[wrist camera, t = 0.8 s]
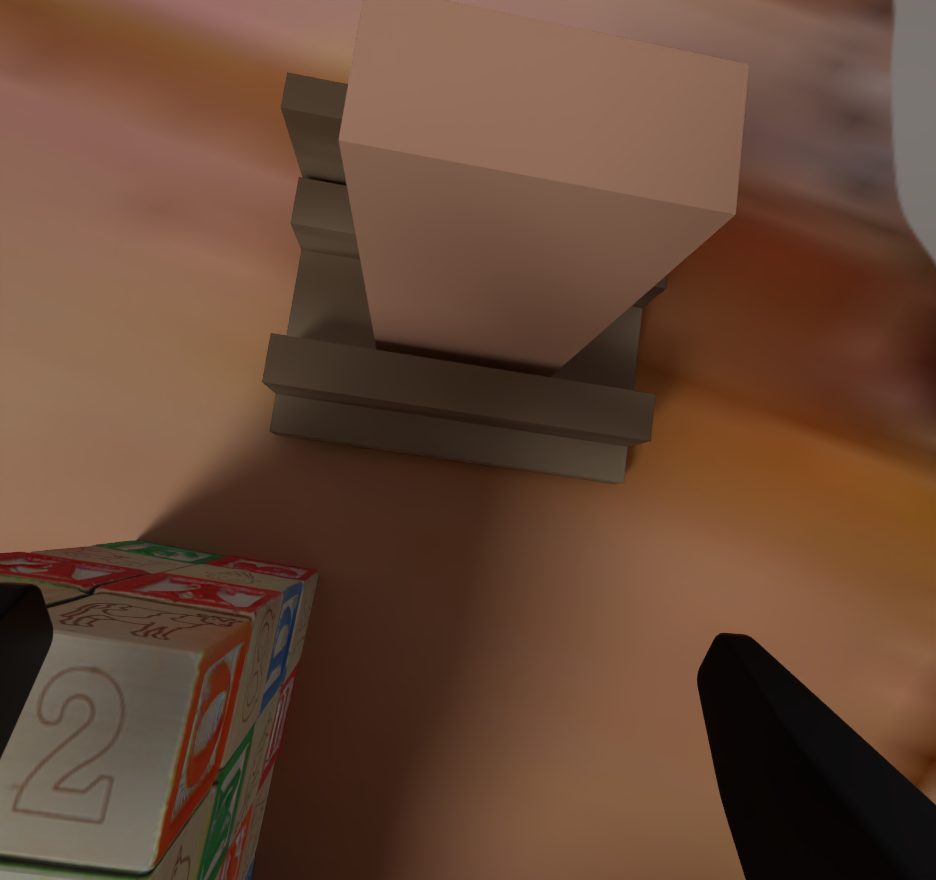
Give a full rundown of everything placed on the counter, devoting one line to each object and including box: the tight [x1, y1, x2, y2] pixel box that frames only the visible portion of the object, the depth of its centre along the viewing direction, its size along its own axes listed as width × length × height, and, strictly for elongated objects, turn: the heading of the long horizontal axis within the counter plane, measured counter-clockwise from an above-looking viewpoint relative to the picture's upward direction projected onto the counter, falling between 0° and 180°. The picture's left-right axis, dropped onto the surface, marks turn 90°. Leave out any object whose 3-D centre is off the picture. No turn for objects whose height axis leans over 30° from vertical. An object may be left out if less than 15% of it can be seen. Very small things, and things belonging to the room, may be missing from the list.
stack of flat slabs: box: [262, 73, 668, 484], centre depth 19 cm, size 9×12×6 cm
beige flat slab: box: [339, 0, 749, 377], centre depth 15 cm, size 2×6×12 cm, turn 82°
